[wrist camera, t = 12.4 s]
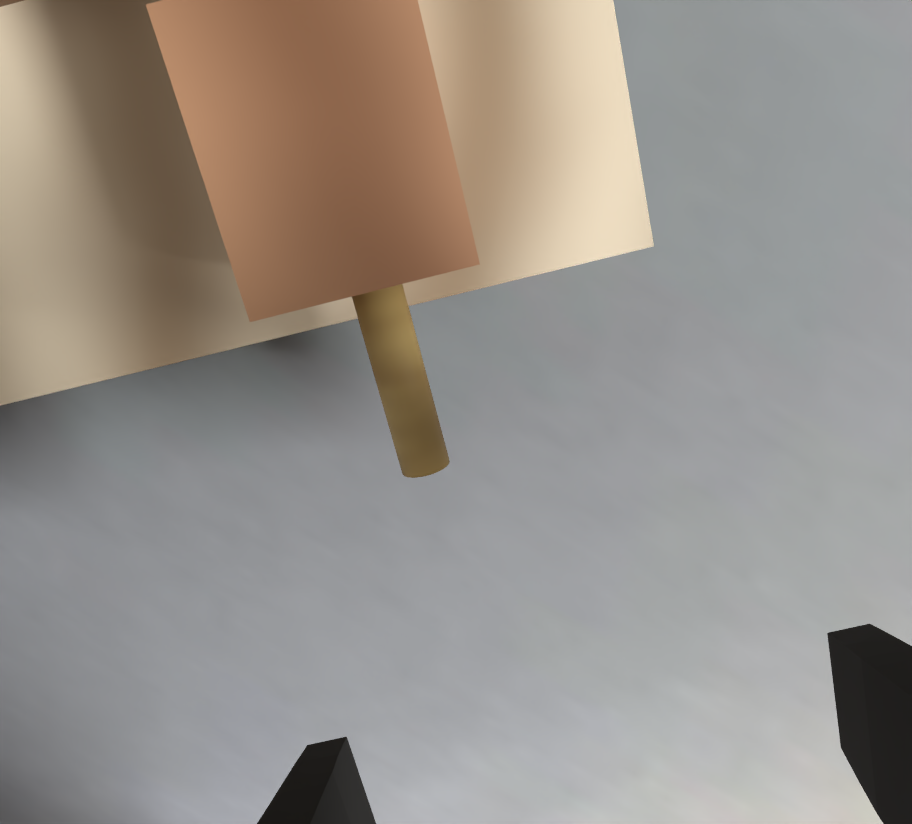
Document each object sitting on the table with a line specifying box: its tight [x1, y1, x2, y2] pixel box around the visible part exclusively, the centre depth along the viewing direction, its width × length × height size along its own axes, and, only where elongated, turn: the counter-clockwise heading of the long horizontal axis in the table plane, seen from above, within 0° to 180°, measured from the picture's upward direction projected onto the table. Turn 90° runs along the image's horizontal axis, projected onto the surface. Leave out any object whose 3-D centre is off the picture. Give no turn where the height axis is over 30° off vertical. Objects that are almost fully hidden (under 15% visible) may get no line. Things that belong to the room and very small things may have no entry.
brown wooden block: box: [146, 0, 480, 478], centre depth 16 cm, size 4×9×5 cm, turn 14°
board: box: [0, 0, 654, 406], centre depth 17 cm, size 22×9×3 cm, turn 104°
